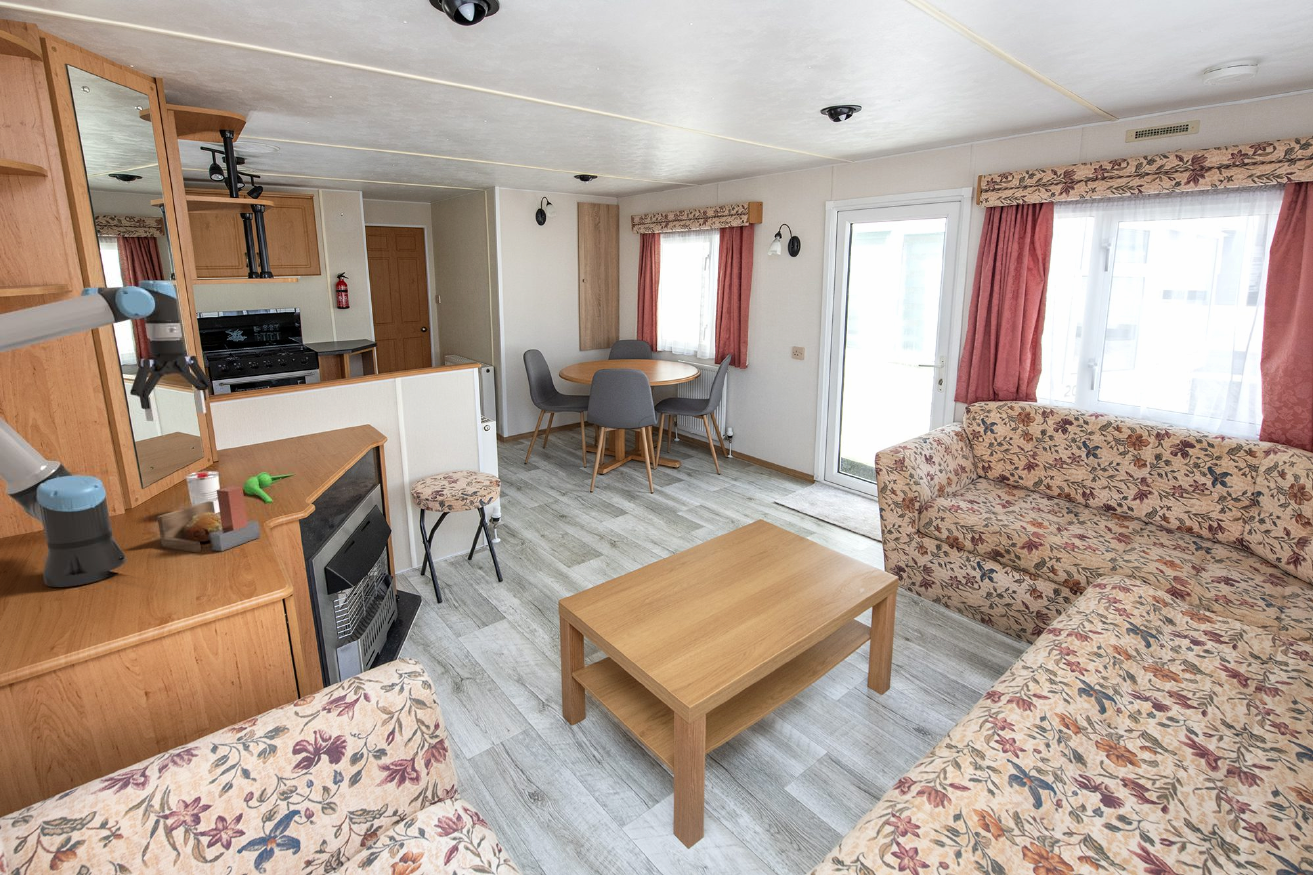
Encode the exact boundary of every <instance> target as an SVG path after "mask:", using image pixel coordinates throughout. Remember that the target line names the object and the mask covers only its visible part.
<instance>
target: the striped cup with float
mask: <svg viewBox="0 0 1313 875" xmlns="http://www.w3.org/2000/svg"><path fill="white" fill-rule="evenodd" d="M219 474H220V472H219V471H215V470H206V471H198V472H192V473H190V474H186V475H185V476H184V478H185V479H186V484H187V487H188V493H189V498H190V502H191V506H195V505H198V504H201V503H205V502H208V501H211V502H213V503H214V510H215V513H216V514H219V513H220V510H219V503H218V496H217V490H219V489H221V488H220V477H219Z"/></svg>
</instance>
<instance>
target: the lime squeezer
mask: <svg viewBox="0 0 1313 875" xmlns="http://www.w3.org/2000/svg"><path fill="white" fill-rule="evenodd" d="M292 474H293V473H290V474H282V475H272V476H271V474H270V473H268V472H264V471H263V472H260V473H258V474H257V475H256V476H252V477H249V479H247V480H245V481H244V484H243V492H245V493H246V495H249V496H250V495H251V496H253V495H254V496H255V495H256V496H258V497H260V498H261V499H262V500H263V501H264V502H265V504H273V503H274V500H273V499H272V498H271V497H270V495H268V494H267V493H266V492H265V491H264V490H263V488H267V487H270V486H271V485H272V483H276V482H277V481H276V480H278V481H280V480H279V479H280V478H282V479H284V478H287V477H290V476H293V475H292ZM286 476H287V477H286ZM283 477H284V478H283Z"/></svg>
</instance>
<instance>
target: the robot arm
mask: <svg viewBox="0 0 1313 875" xmlns="http://www.w3.org/2000/svg"><path fill="white" fill-rule="evenodd" d="M80 292H81V293H80V296H77V297H74V298H68V299H64V300H59V301H55V302H50V303H46V304H42V305H38V306H37V305H36V306H33V307H28V308H24V309H19V310H14V311H11V312H5V313H1V314H0V354H1V353H5V352H8V351H13V350H17V349H20V348H25V347H28V346H32V345H36V344H40V343H44V342H47V341H51V340H55V339H59V338H63V337H67V336H71V335H75V334H78V333H82V332H86V331H89V330H94V329H98V328H102V327H105V326H110V325H113V324H118V323H122V322H126V321H130V320H133V319H135V320H138V319H144V324H145V331H146V336H147V337H146V338H147V339H149V340H148V347H149V348H148V350H149V353H150V355H151V359H147V358H139V359H138V369H137V372H136V375H135V377H134V381H133V384H132V386H131V389H130V391H129V392H130V393H129V394H130V395H131V396H136V397H138V398H139V402H140V407H141V409H142V410H144V413H145V420H146V421H147V422H157V421H158V420H157V415H156V409H155V402H154V397H153V396H150V394H152V392H153V390H154V389H155V387H156V386H157V385H158V383H159V381H160V380H161V378H162V377H163V376H165V375H172V374H179V375H180V376H182V377H183V378H184V379H185V380H186V381H187V382H188V383H189V384H191V386H193V387H194V388H195V390H193V396H194V397H193V398H194V404H195V410H196V413H197V414H206V413H207V409H206V403H205V402H206V401H207V393H206V391H207V390H208V389H209V387H212V382H211V381H210V379H209V378H208V377H207V375H206V373H205V372H204V370H203V369H202V367H201V366H200V364H199V362H198V358H197V356H196V355H186V356H185V355H184V353H185V347H184V341H183V340H182V337H183V334H182V327H181V322H180V314H179V307H178V297H177V293H176V288H175V285H174V284H173V283H172V282H171V281H169V280H167V281H166V280H140V281H139V282H138V286H135V285H134V286H133V285H127V286H122V287H121V286H113V287H112V286H111V287H105V286H104V287H103V286H102V287H101V286H100V287H99V286H96V287H84V288H83V289H82V290H81V291H80ZM185 364H187V366H188V367H189V368H190V369H189V368H187V367H186V366H185ZM151 367H153V368H152V370H151ZM150 370H151V372H150ZM190 370H191V371H192V372H191V371H190ZM149 373H150V375H149ZM147 378H148V379H147ZM0 478H1V479H2V480H3V481H4V482H5V484H6V486H5V491H4V492H5V493H6V494H7V495H8V496H9V497H10V498H12V500H14V501H15V502H16V503H17V504H18V505H20V506H21V507H22V508H23V511H24V512H25V513H27V514H28V515H29V516H31V517H32V518H34V519H36V520H38V521H39V522H40V523H42V525H43V530H44V536H45V540H46V546H47V555H46V560H45V565H44V569H43V572H42V577H43V578H42V579H43V583H44V584H45V585H46V586H48V587H51V588H53V587H54V588H66V587H74V586H81V585H86V584H91V583H95V582H100V581H103V580H106V579H108V578H109V579H110V578H111V577H114V576H117V575H118V574H119V572H115V571H112V570H114V569H117V568H119V567H121V566H123V565H124V564H125V563H126V562H127V556H126V555H125V554H124V552H123V550H122V549H121V548H120V546H119V545H118V543H117V542H116V540H115V539H114V536H113V531H112V525H111V519H110V513H109V508H108V504H107V503H108V502H107V498H106V496H107V492H106V489H105V487H104V484H103V482H102V481H101V479H99V478H98V477H95V476H91V475H83V474H81V475H79V474H75V475H74V474H73V473H71V471H70V470H69V469H67V468H66V467H65V466H64V465H63V464H62V463H61V462H60V461H57V460H48V459H46V458H44V456H42V455H41V454H40V453H39V452H38V451H37V450H36V449H35V448H34V447H33V446H32V445H31V444H29V442H28V441H26V440H25V439H24V437H22V436H21V435H20V434H19V433H18V432H17V431H16V430H15V429H14V428H13V427H12V426H10V424H8V423H7V421H5V420H4V419H3V418H2V417H1V416H0Z"/></svg>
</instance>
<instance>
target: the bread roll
mask: <svg viewBox="0 0 1313 875" xmlns="http://www.w3.org/2000/svg"><path fill="white" fill-rule="evenodd" d="M221 529H222V524H221V517H220V513H210V512H209V513H203V514H200V515H196V516H193V517H192V518H191V520H189V521H188V522H187V524H186V525H185V527H184V534H185V537H186V540H190V541H197V542H200V543H201V542H208V541H210V536H209V533H212V532H215V531H218V530H221Z"/></svg>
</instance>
